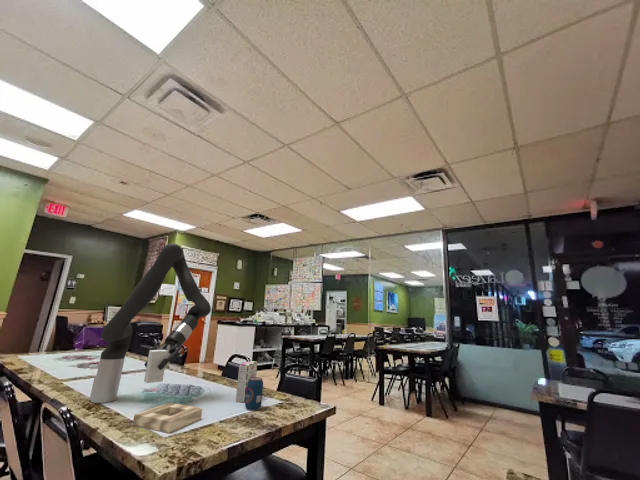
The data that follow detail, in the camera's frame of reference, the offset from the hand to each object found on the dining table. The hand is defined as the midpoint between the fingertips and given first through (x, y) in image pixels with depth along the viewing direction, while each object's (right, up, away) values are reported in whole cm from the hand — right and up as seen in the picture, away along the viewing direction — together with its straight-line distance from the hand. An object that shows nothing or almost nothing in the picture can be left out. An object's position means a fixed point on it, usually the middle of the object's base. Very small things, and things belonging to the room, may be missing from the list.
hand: (152, 367), depth 120 cm
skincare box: (0, -6, 0) cm, 6 cm away
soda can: (+39, -22, +8) cm, 45 cm away
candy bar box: (+32, -24, +20) cm, 45 cm away
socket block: (+12, -15, -12) cm, 23 cm away
